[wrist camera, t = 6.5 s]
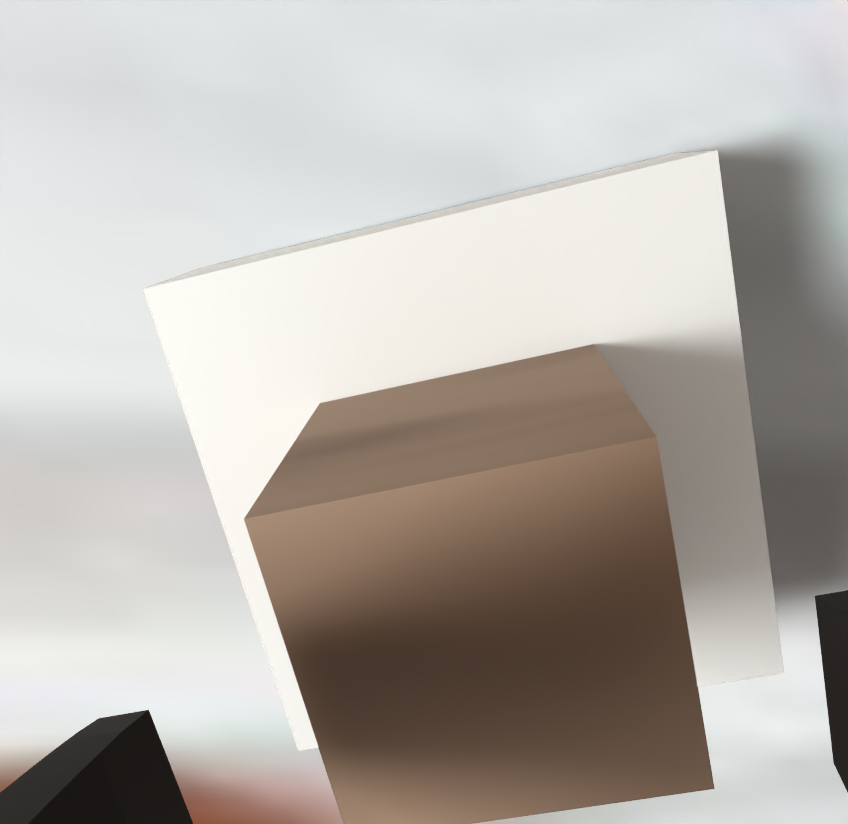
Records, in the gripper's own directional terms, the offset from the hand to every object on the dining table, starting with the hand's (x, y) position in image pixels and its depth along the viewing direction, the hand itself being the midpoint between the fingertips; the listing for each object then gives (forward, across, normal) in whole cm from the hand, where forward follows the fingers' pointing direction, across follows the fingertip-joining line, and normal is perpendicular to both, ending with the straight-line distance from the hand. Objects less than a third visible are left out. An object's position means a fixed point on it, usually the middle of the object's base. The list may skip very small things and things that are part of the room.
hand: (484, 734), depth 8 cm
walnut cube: (+7, 0, 0) cm, 7 cm away
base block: (+10, 0, 0) cm, 10 cm away
